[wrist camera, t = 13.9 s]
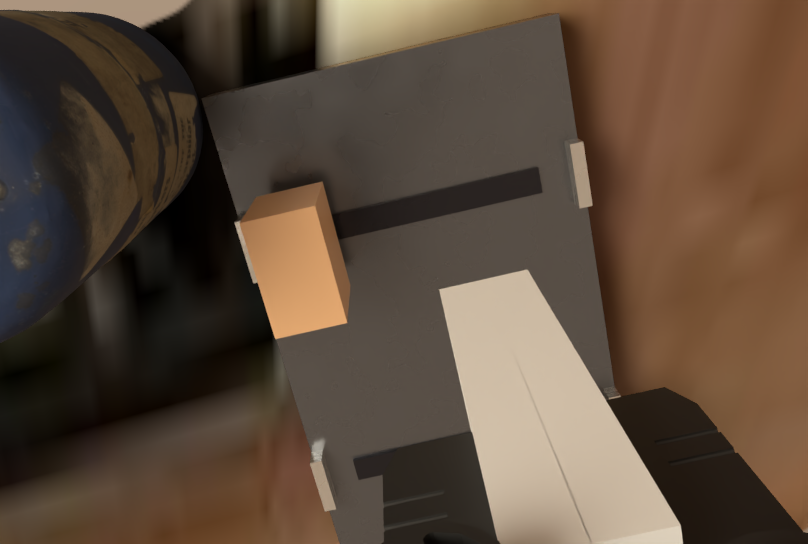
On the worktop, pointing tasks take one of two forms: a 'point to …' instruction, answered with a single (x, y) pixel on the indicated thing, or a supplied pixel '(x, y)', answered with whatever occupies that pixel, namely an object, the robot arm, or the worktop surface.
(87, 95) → the canister
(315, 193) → the block
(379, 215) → the console
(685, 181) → the worktop surface
